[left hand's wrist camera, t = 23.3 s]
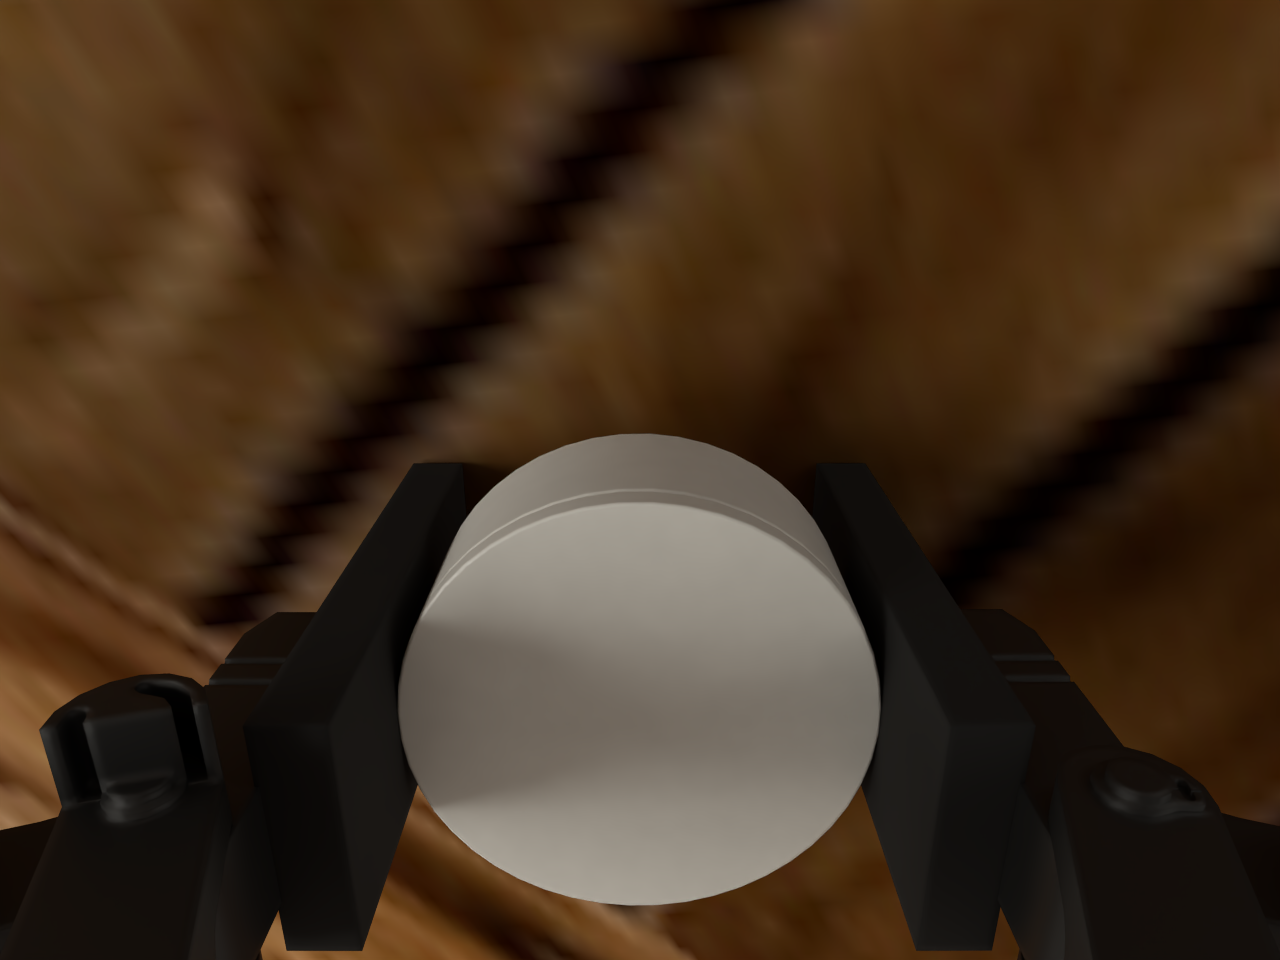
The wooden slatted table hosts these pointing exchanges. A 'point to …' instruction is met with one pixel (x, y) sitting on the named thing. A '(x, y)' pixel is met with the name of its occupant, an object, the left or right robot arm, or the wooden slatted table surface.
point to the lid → (639, 675)
